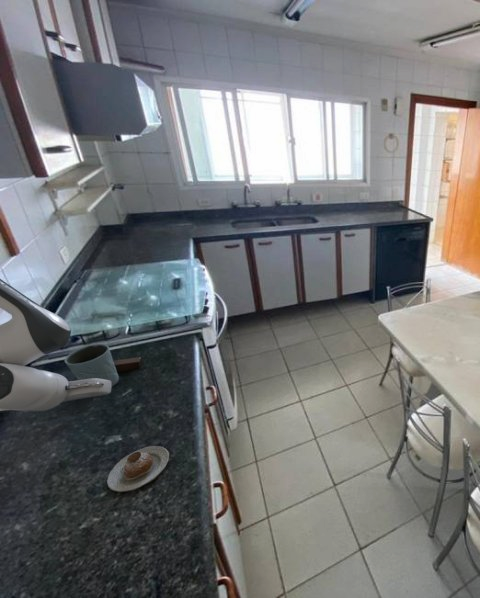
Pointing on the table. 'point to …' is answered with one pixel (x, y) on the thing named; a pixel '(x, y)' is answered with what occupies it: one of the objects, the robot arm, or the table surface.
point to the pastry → (138, 469)
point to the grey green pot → (93, 363)
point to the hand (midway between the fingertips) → (74, 396)
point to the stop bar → (128, 364)
